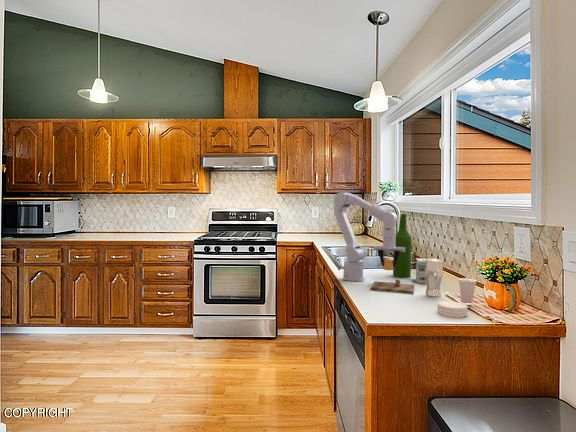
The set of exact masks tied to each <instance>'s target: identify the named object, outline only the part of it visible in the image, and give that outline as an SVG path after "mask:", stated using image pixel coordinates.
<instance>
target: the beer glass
mask: <svg viewBox="0 0 576 432" xmlns="http://www.w3.org/2000/svg"><path fill="white" fill-rule="evenodd" d="M425 259H426V266H425V275H426V282H427V283H426V290H425V296H427V297H430V298H431V297H433V298H439V297H441V296H442V294H441V283H442V279H443V274H444V272H443V271H444V263H443V260H442V259H438V258H425Z"/></svg>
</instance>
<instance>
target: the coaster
mask: <svg viewBox="0 0 576 432" xmlns="http://www.w3.org/2000/svg"><path fill="white" fill-rule="evenodd" d="M436 306H437V308H436V309H437V310H436V312H437V313H438V314H439V313H440V314H439V315H441V314H442V315H441V316H444V315H446V316H445V317H448V316H452V317H451V318H465V317H464V316H466V317H467V316H468V315H469V313H468V312H469V311H468V308H469V306H467V305H465V304H463V303H461V302H458V301H453V300H452V301H451V300H442V301H439V302H437V305H436Z"/></svg>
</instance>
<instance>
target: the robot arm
mask: <svg viewBox="0 0 576 432" xmlns="http://www.w3.org/2000/svg"><path fill="white" fill-rule="evenodd" d="M333 202H334V204H333V206H334V207H333V213H334V216H335V219H336V222H337V224H338V227H339V229H340V232H341V234H342V237H343V239H344V241H345V244H346V247H345V251H346V259H347V260H348V261H344V263H343V279H342V280H343V281H351V282H352V281H353V282H363V281H364V280H365V277H364V258H366V251H365V249H364V248H362V246H361V245H362V244H360V243H359V242H358V240H357V238H356V236H355V234H354V230H353V228H352V226H351V224H350V221H349V218H348V216H347V209H348V208H349V207H350V206H351V204H352V205H353V204H354V205H357V206H358V207H360V208H362V209H365V210H367V211H368V213H369V215H371V217H374V218H375V219H378V221H381V222H382V223H383V228H382V229H383V230H382V231H383V232H382V246H381V245H373V246H372V247H373V249H372V250H373V251H377V253H378V256H379V259H380V262H381V267H383V262H384V259H385V258H384V257H385V256H384V255H385V252H393V256H394V267H396V261H397V258H398V256H399V254H400V252H405V248H404V247H395V242H396V234H397V230H396V229H397V222H398V219H399V217H398V215H397V214H396V213H395V211H390V210H389V208H388V209H386V208H384V207H382V206H381V204H379V203H377V204H376V203H375V204H371V203H370V202H368V201H366V200H364V199H363V198H361V197H360V196H358V195H356V194H353V193H351V192H343V191H340V192H337V193H336V194H335V196H334V197H333ZM394 251H395V252H394Z"/></svg>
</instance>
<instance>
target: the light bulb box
mask: <svg viewBox="0 0 576 432" xmlns="http://www.w3.org/2000/svg"><path fill="white" fill-rule="evenodd" d="M426 259H427V258H419V257H416V261H415V262H416V266H415V267H416V268H415V279H416V282H417V283H418V284H427V282H426V275H425V266H426Z"/></svg>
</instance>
